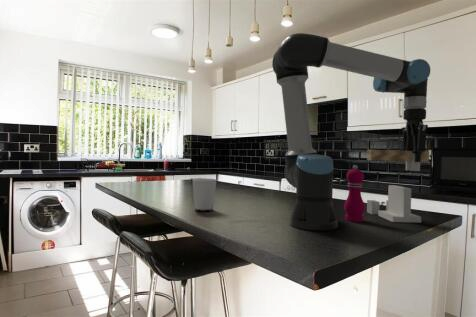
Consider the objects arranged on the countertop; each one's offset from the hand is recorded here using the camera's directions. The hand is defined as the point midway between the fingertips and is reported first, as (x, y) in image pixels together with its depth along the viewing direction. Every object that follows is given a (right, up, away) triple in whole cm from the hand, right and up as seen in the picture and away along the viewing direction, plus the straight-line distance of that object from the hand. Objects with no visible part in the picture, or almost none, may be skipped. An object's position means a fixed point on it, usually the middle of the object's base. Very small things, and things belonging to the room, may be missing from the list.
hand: (412, 170), depth 122 cm
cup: (-81, -17, +9) cm, 83 cm away
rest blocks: (-8, -18, +9) cm, 21 cm away
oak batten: (-6, +4, 0) cm, 7 cm away
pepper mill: (-25, -18, -6) cm, 31 cm away
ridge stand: (-7, -18, -2) cm, 19 cm away
